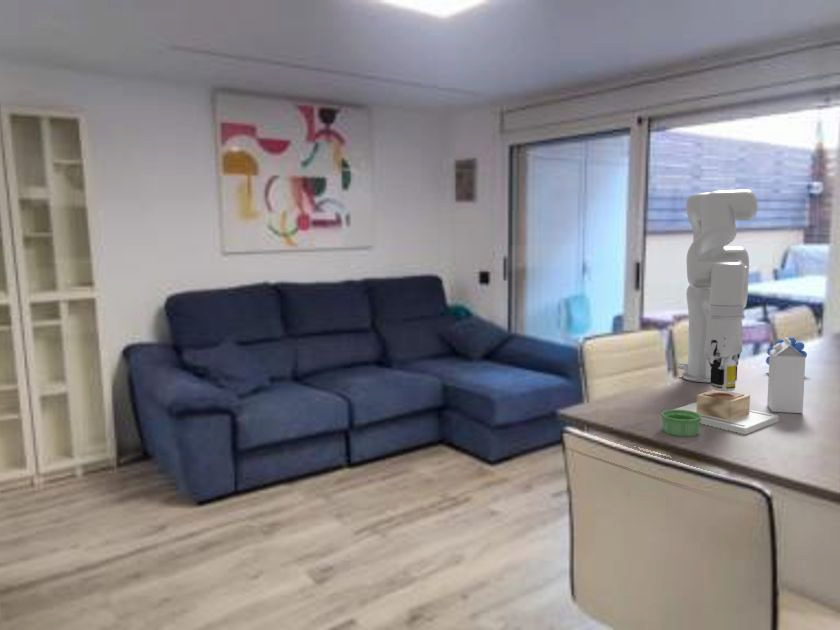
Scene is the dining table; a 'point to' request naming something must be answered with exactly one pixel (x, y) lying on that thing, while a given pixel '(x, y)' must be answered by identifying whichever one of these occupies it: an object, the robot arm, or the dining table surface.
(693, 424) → the ramekin
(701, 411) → the oak plinth
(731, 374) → the supplement bottle
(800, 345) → the grapes
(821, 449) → the dining table surface
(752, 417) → the white cutting board
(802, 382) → the milk carton
